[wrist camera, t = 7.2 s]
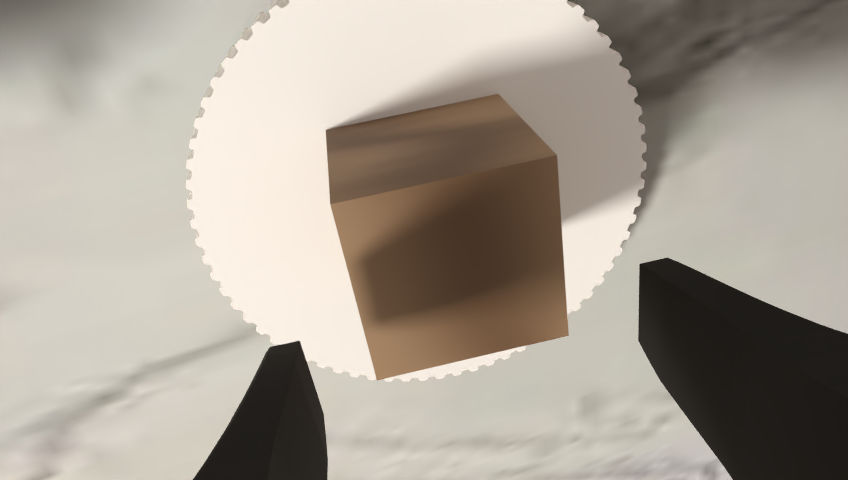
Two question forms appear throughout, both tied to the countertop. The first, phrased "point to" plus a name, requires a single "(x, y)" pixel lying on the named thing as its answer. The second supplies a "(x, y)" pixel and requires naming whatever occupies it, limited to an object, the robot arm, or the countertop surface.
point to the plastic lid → (383, 97)
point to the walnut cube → (449, 233)
